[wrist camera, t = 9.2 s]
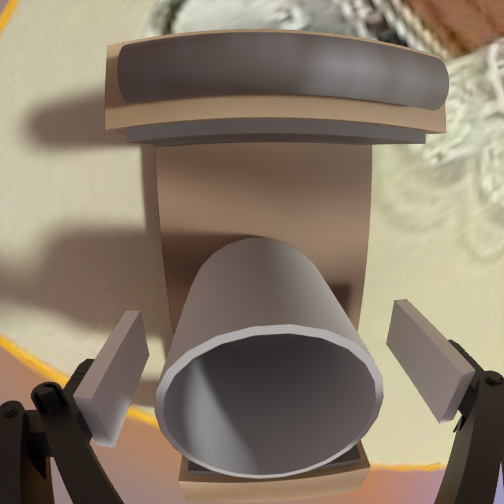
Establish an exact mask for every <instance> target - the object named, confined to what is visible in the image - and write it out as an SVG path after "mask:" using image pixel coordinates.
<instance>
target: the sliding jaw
mask: <svg viewBox="0 0 504 504" xmlns="http://www.w3.org/2000/svg"><path fill="white" fill-rule="evenodd" d="M448 90H449V77H448V72H447V69H446V67H445V65H444V63H443V62H442V61H441V57H440V56H437V55H434V54H431V53H427V52H423V51H420V50H416V49H412V48H408V47H404V46H400V45H395V44H391V43H386V42H381V41H376V40H370V39H365V38H359V37H352V36H345V35H338V34H330V33H321V32H310V31H296V30H275V29H234V30H212V31H199V32H188V33H179V34H171V35H163V36H156V37H150V38H144V39H138V40H133V41H128V42H123V43H118V44H113V45H109V46H107V60H106V80H105V130H109V131H115V132H122V133H127V138H128V142H132V143H143V144H154V145H163V146H183V145H198V144H217V143H246V142H302V143H331V144H350V145H376V144H426V141H425V134H438V133H446V115H445V100H446V98H447V95H448Z"/></svg>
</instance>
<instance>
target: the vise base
mask: <svg viewBox="0 0 504 504" xmlns="http://www.w3.org/2000/svg"><path fill="white" fill-rule="evenodd" d="M155 151H156V173H157V190H158V205H159V218H160V230H161V240H162V250H163V260H164V269H165V277H166V285H167V293H168V300H169V308H170V315H171V321H172V328H173V334H175V331H176V328H177V325H178V323H179V320H180V317H181V314H182V311H183V308H184V305H185V302H186V299H187V296H188V294H189V291H190V288H191V285H192V283H193V281H194V279H195V277H196V275H197V273H198V271H199V269H200V268H201V266H202V265H203V264H204V263H205V262H206V261H207V260H208V258H209V257H210V256H211V255H212V254H213V253H215V252H216V251H218V250H219V249H221V248H223V247H224V246H226V245H227V244H229V243H233V242H236V241H239V240H243V239H246V238H270V239H274V240H279V241H283V242H285V243H287V244H289V245H291V246H293V247H295V248H297V249H299V250H300V251H301V252H302V253H303V254H304V255H305V256H306V257H307V258H308V259H309V260H310V261H311V262H312V263H313V264H314V265H315V266H316V268H317V269H318V271H319V272H320V274H321V275H322V277H323V278H324V280H325V282H326V283H327V285H328V286H329V288H330V289H331V291H332V293H333V294H334V296H335V297H336V299H337V301H338V302H339V304H340V305H341V307H342V309H343V310H344V312H345V313H346V315H347V317H348V318H349V320H350V321H351V323H352V325H353V326H354V328H355V330H356V331H357V332H358V325H359V319H360V312H361V304H362V296H363V288H364V280H365V271H366V261H367V250H368V237H369V223H370V206H371V180H372V145H350V144H331V143H302V142H246V143H217V144H198V145H183V146H163V145H155ZM370 468H371V467H370V464H369V461H368V459H367V456H366V453H365V451H364V448H363V445H362V443H361V440H359V441H358V442H357V443H356V444H355V445H354V446H353V447H352V448H351V449H350V450H348V451H347V452H345V453H344V454H342V455H340V456H339V457H337V458H336V459H334V460H332V461H331V462H329V463H326V464H324V465H322V466H319V467H317V468H314V469H312V470H309V471H306V472H302V473H298V474H294V475H289V476H284V477H274V478H246V477H236V476H231V475H227V474H223V473H219V472H216V471H212V470H209V469H207V468H205V467H203V466H201V465H199V464H197V463H195V462H193V461H191V460H189V459H188V458H187V457H185V456H184V455H183V454H182V461H181V467H180V474H179V483H180V486H181V488H182V491H183V493H184V495H185V498H186V500H187V501H193V502H212V503H248V502H249V503H252V502H272V501H285V500H295V499H304V498H312V497H319V496H325V495H331V494H337V493H343V492H348V491H353V490H357V489H360V488H361V486H362V484H363V482H364V480H365V478H366V476H367V474H368V472H369V470H370Z"/></svg>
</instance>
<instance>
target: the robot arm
mask: <svg viewBox="0 0 504 504" xmlns="http://www.w3.org/2000/svg"><path fill="white" fill-rule="evenodd" d="M386 344H387V346H388V347H389V349H390V350H391V351H392V353H393V354H394V356H395V357H396V359H397V360H398V362H399V363H400V365H401V366H402V368H403V369H404V370H405V372H406V373H407V375H408V376H409V378H410V379H411V381H412V382H413V384H414V385H415V387H416V388H417V390H418V391H419V393H420V394H421V396H422V397H423V399H424V401H425V402H426V404H427V405H428V407H429V408H430V410H431V411H432V413H433V414H434V416H435V418H436V419H437V421H438V422H439V424H441V423H444V422H447V421H450V420H453V419H454V417H455V415H456V413H457V411H458V410H459V411H460V413H461V414H462V416H461V418H460V419H459V421H458V423H457V425H456V427H455V429H454V431H453V432H454V433H455V431H456V430H457V431H456V436H455V440H454V443H453V447H452V451H451V454H450V458H449V461H448V465H447V468H446V471H445V474H444V477H443V481H442V483H441V486H440V489H439V492H438V495H437V497H436V500H435V503H434V504H493V502H494V497H495V492H496V487H497V482H498V476H499V470H500V462H501V464H502V473H503V485H504V378H503V376H502V375H501V374H499V373H497V372H495V371H484V370H483V369H482V368H481V367H480V366H479V365H478V363H477V362H476V361H475V360H474V359H473V358H472V357H471V356H469V354H468V353H467V352H465V350H464V349H463V348H462V347H461V346H460V345H459V344H458V343H456V342H454V341H452V340H447V339H446V338H445V337H444V336H443V335H442V334H441V333H440V332H439V331H438V330H437V329H436V328H435V327H434V326H433V325H432V324H431V323H430V322H429V321H428V320H427V319H426V318H425V317H424V316H423V315H422V314H421V313H420V312H419V311H418V310H417V309H416V308H415V307H414V306H413V305H412V304H411V303H410V302H409V301H408V300H407V299H403V300H395V301H394V307H393V312H392V318H391V323H390V328H389V333H388V337H387V342H386ZM148 357H149V351H148V347H147V342H146V338H145V333H144V328H143V323H142V317H141V312H140V311H135V310H126V312H125V313H124V315H123V316H122V318H121V319H120V321H119V322H118V324H117V325H116V327H115V328H114V330H113V332H112V333H111V335H110V336H109V338H108V339H107V341H106V343H105V344H104V346H103V347H102V349H101V350H100V352H99V354H98V355H97V357H96V358H95V359H86V360H85V361H83V362H82V363H81V364H79V366H78V367H77V369H76V370H75V372H74V373H73V375H72V376H71V379H70V380H69V381H68V383H67V384H66V386H65V387H64V389H63V390H62V388H61V386H60V385H59V384H57V383H55V382H45V383H42V384H39V385H38V386H36V387H35V388H34V389H33V391H32V393H31V399H32V401H33V403H34V405H35V407H36V408H37V410H25V409H24V407H23V406H22V404H21V403H20V402H18V401H8V402H5V403H4V404H2V405H1V406H0V504H55V503H54V495H53V487H52V477H51V465H50V457H54V460H55V462H56V465H57V467H58V470H59V472H60V475H61V477H62V480H63V482H64V484H65V487H66V489H67V491H68V493H69V496H70V498H71V500H72V502H73V504H124V502H123V501H122V499H121V498H120V496H119V495H118V493H117V491H116V490H115V488H114V487H113V485H112V483H111V482H110V480H109V478H108V477H107V475H106V473H105V471H104V470H103V468H102V466H101V464H100V462H99V461H98V459H97V457H96V455H95V453H94V451H93V449H92V447H91V446H90V444H89V442H90V440H91V438H92V436H93V438H94V440H95V442H96V444H97V445H101V446H106V447H112V448H114V446H115V443H116V441H117V438H118V435H119V433H120V430H121V427H122V424H123V421H124V419H125V416H126V413H127V411H128V408H129V406H130V403H131V400H132V398H133V395H134V392H135V390H136V387H137V385H138V382H139V380H140V377H141V375H142V372H143V370H144V367H145V365H146V362H147V360H148Z"/></svg>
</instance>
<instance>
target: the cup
mask: <svg viewBox="0 0 504 504" xmlns="http://www.w3.org/2000/svg"><path fill="white" fill-rule="evenodd" d="M382 401H383V379H382V376H381V374H380V372H379V370H378V368H377V366H376V364H375V362H374V360H373V358H372V356H371V354H370V353H369V351H368V349H367V348H366V346H365V344H364V343H363V341H362V339H361V338H360V336H359V334H358V333H357V331H356V330H355V328H354V326H353V325H352V323H351V321H350V320H349V318H348V317H347V315H346V313H345V312H344V310H343V309H342V307H341V305H340V304H339V302H338V301H337V299H336V297H335V296H334V294H333V293H332V291H331V289H330V288H329V286H328V285H327V283H326V282H325V280H324V278H323V277H322V275H321V274H320V272H319V271H318V269H317V268H316V266H315V265H314V264H313V263H312V262H311V261H310V260H309V259H308V258H307V257H306V256H305V255H304V254H303V253H302V252H301V251H300V250H299V249H297V248H295V247H293V246H291V245H289V244H287V243H285V242H283V241H279V240H274V239H270V238H246V239H243V240H239V241H236V242H233V243H229V244H227V245H226V246H224V247H223V248H221V249H219V250H218V251H216V252H215V253H213V254H212V255H211V256H210V257H209V258H208V260H207V261H206V262H205V263H204V264H203V265H202V266H201V268H200V269H199V271H198V273H197V275H196V277H195V279H194V281H193V283H192V285H191V288H190V291H189V294H188V296H187V299H186V302H185V305H184V308H183V311H182V314H181V317H180V320H179V323H178V325H177V328H176V331H175V334H174V337H173V340H172V343H171V346H170V349H169V352H168V356H167V359H166V362H165V365H164V368H163V371H162V374H161V377H160V380H159V384H158V387H157V390H156V398H155V415H156V418H157V421H158V424H159V427H160V430H161V432H162V433H163V434H164V436H165V437H166V438H167V440H168V441H169V442H170V444H171V445H172V446H173V447H174V448H175V449H176V450H178V451H179V452H180V453H181V454H183V455H184V456H185V457H187V458H188V459H189V460H191V461H193V462H195V463H197V464H199V465H201V466H203V467H205V468H207V469H209V470H212V471H216V472H219V473H223V474H227V475H231V476H236V477H246V478H274V477H284V476H289V475H294V474H298V473H302V472H306V471H309V470H312V469H314V468H317V467H319V466H322V465H324V464H326V463H329V462H331V461H332V460H334V459H336V458H337V457H339V456H340V455H342V454H344V453H345V452H347V451H348V450H350V449H351V448H352V447H353V446H354V445H355V444H356V443H357V442H358V441H359V440H360V439H362V438H363V437H364V436H365V435H366V433H367V432H368V430H369V429H370V427H371V426H372V424H373V423H374V421H375V420H376V418H377V417H378V414H379V411H380V407H381V404H382Z"/></svg>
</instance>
